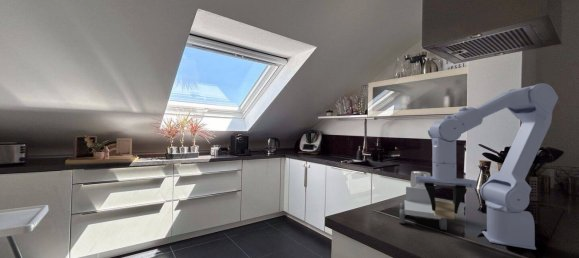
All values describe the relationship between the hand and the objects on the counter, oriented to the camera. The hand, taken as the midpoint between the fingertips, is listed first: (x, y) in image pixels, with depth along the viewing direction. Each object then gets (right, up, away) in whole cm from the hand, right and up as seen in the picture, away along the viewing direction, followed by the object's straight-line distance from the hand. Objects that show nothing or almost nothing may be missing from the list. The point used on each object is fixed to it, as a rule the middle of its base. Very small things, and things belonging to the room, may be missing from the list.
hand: (444, 211), depth 69 cm
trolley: (+1, -8, +13) cm, 16 cm away
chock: (+1, -2, +1) cm, 2 cm away
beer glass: (+6, -9, +24) cm, 27 cm away
